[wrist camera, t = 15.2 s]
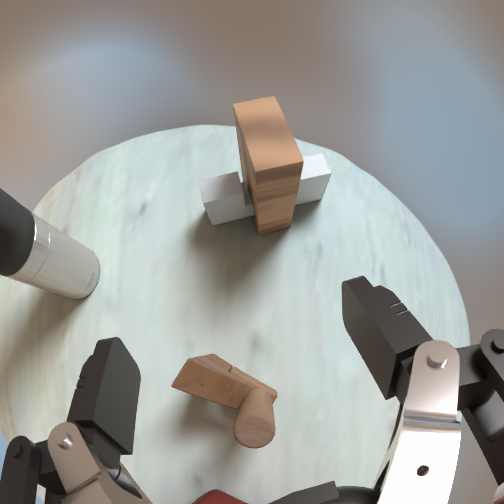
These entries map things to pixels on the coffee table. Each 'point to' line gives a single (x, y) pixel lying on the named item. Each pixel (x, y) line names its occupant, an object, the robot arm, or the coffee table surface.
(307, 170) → the white notched u-shaped brace
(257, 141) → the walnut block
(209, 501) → the plant pot
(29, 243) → the robot arm
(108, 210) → the coffee table surface
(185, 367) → the brown notched handled part
